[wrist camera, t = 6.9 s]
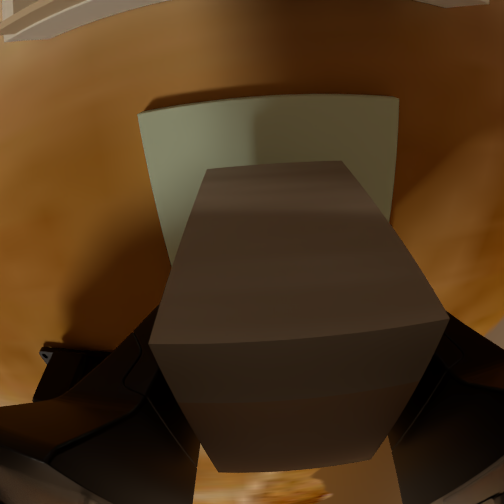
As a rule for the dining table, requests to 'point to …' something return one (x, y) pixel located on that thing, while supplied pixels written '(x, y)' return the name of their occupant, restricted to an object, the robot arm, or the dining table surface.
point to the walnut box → (292, 319)
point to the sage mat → (266, 144)
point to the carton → (93, 14)
